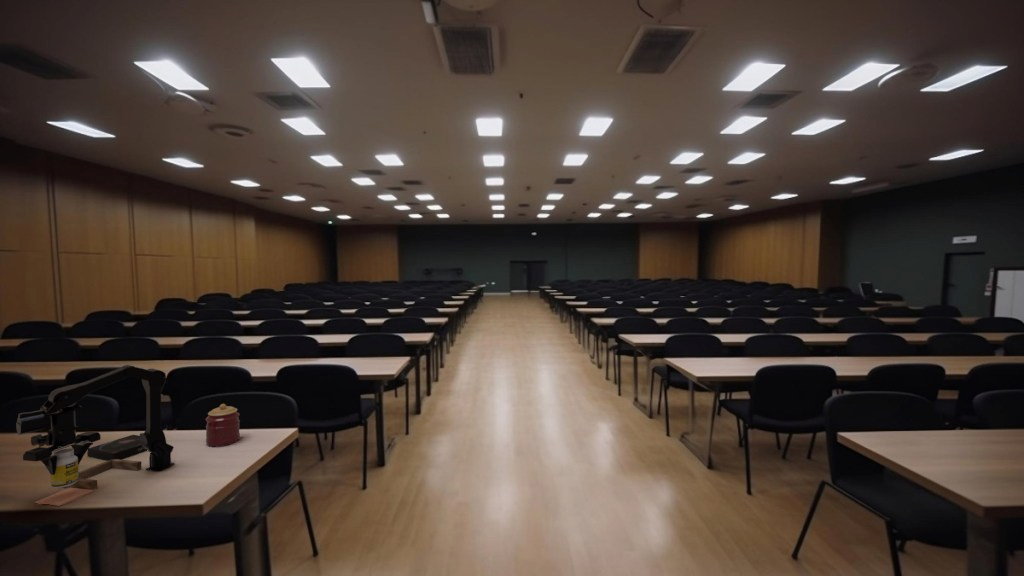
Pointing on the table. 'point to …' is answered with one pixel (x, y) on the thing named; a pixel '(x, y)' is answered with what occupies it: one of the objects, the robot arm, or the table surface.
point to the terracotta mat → (64, 496)
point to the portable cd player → (117, 449)
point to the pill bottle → (65, 469)
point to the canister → (222, 426)
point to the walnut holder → (102, 467)
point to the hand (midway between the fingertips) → (64, 469)
